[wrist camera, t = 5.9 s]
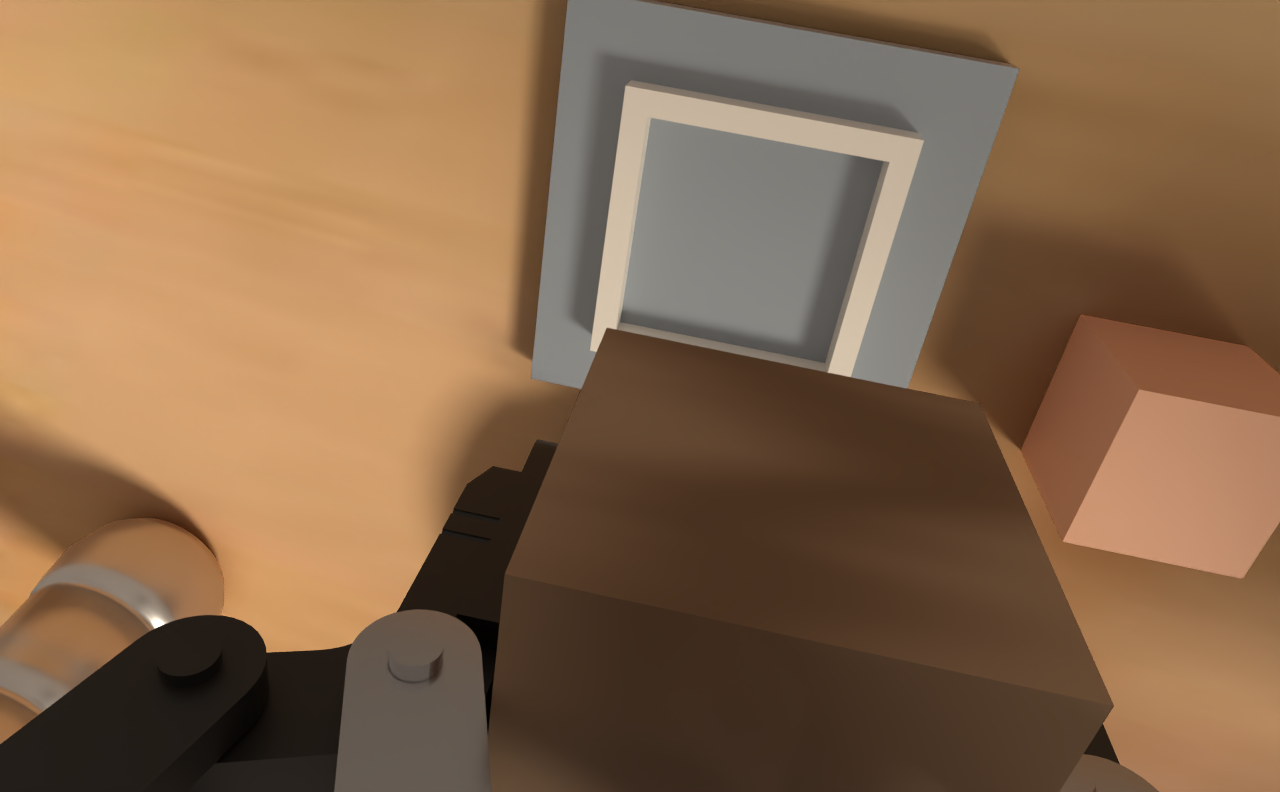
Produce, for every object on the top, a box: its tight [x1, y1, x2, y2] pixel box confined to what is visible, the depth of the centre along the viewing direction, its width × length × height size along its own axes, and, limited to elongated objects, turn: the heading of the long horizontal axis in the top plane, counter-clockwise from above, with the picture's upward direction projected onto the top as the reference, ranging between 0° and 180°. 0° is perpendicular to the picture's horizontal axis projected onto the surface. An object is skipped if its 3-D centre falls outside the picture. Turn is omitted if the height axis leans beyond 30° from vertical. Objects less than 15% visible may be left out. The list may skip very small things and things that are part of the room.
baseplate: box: [531, 0, 1019, 389], centre depth 25 cm, size 12×12×2 cm
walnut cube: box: [488, 328, 1114, 792], centre depth 10 cm, size 5×5×5 cm
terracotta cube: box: [1021, 314, 1280, 579], centre depth 25 cm, size 5×5×5 cm
